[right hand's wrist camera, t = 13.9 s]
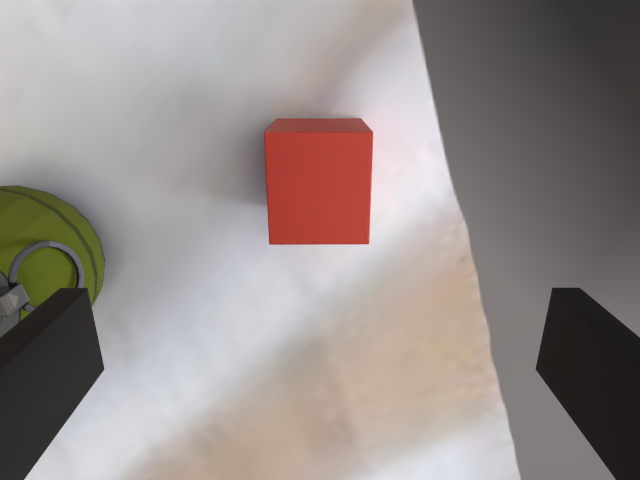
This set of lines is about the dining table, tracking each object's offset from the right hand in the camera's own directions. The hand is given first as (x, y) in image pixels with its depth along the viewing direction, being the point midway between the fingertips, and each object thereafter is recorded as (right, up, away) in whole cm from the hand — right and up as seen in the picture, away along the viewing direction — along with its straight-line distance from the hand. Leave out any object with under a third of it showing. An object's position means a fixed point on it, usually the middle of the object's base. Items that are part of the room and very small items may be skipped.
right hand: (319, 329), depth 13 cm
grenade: (-22, +3, +25) cm, 33 cm away
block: (0, +9, +23) cm, 24 cm away
